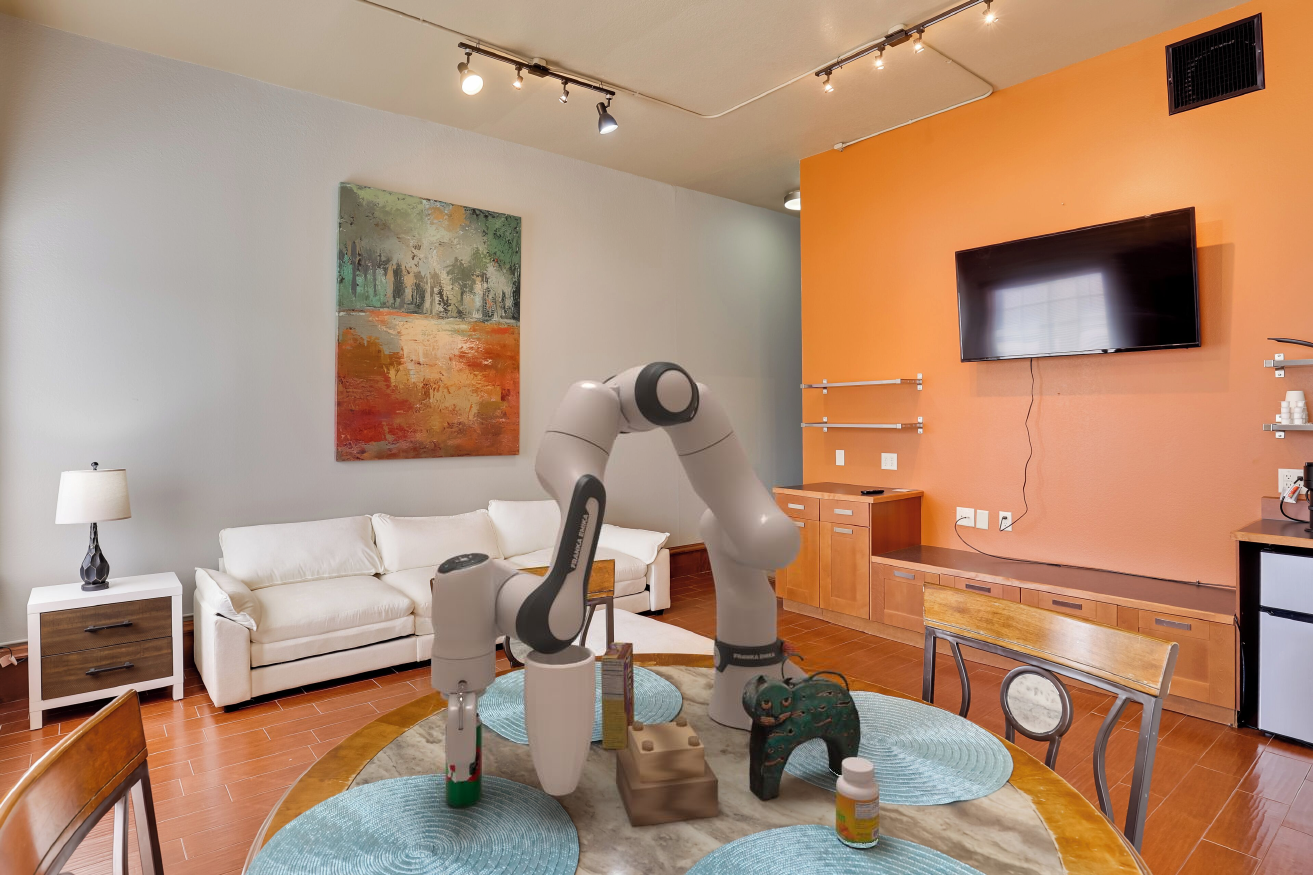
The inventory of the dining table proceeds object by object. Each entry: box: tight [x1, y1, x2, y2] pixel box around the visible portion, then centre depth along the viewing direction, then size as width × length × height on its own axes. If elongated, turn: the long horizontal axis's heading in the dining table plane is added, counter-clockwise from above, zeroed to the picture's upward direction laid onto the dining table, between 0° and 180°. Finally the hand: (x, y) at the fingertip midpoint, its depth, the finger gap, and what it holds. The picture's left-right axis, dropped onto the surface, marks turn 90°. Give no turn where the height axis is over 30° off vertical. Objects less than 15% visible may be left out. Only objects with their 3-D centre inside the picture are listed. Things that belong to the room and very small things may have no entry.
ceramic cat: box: [742, 652, 862, 802], centre depth 107 cm, size 20×6×20 cm, turn 115°
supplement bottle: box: [835, 756, 880, 844], centre depth 92 cm, size 5×5×10 cm
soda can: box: [445, 711, 483, 808], centre depth 101 cm, size 5×5×12 cm
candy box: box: [600, 641, 636, 750], centre depth 122 cm, size 9×4×15 cm, turn 172°
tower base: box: [615, 716, 719, 828], centre depth 102 cm, size 12×12×10 cm
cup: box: [523, 644, 597, 797], centre depth 99 cm, size 10×10×22 cm
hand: (463, 766), depth 101 cm, fingers open, 5 cm apart
